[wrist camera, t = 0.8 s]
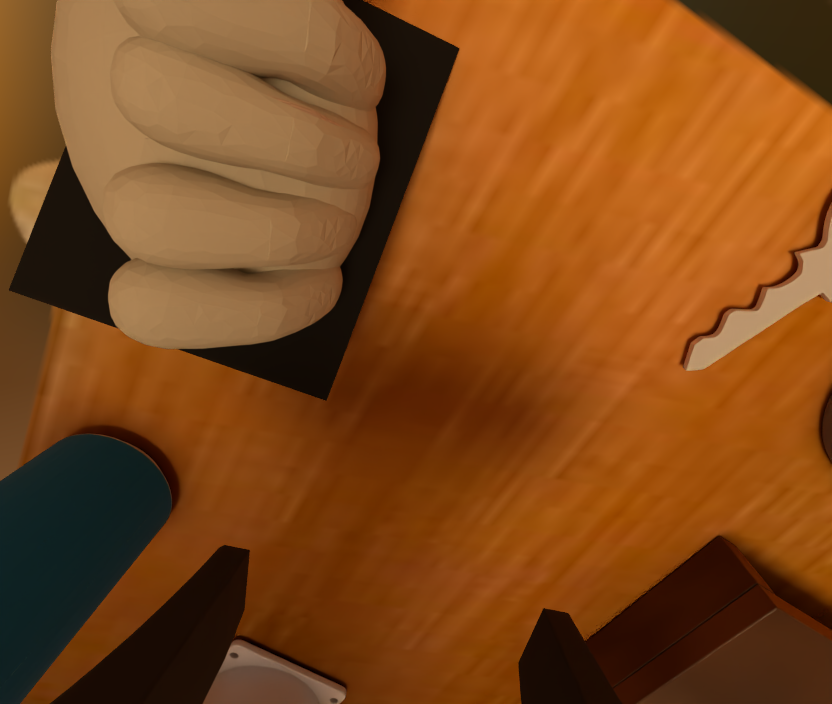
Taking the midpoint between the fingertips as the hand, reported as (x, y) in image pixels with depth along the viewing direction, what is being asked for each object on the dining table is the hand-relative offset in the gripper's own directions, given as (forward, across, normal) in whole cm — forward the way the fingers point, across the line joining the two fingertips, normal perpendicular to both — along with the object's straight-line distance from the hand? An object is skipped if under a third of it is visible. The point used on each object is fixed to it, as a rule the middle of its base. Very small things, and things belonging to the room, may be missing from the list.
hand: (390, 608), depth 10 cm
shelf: (+10, -20, +12) cm, 25 cm away
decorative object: (+5, +12, -11) cm, 17 cm away
